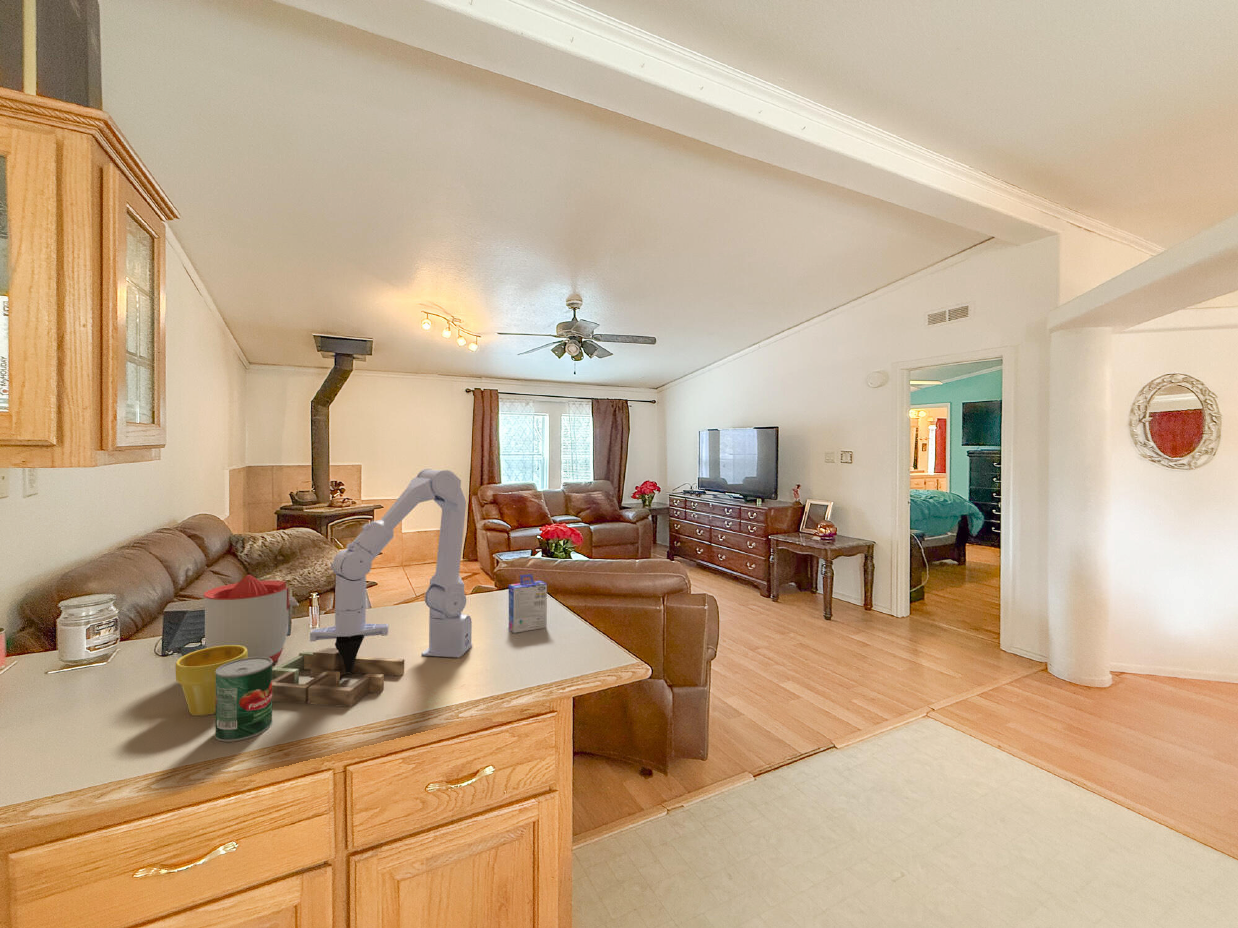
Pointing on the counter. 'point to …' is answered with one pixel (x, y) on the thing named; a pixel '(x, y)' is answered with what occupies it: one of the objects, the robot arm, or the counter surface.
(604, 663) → the counter surface
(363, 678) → the trap lane
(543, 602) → the ink cartridge box
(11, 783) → the counter surface
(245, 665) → the canned tomato
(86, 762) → the counter surface
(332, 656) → the walnut block
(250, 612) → the citrus juicer
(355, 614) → the robot arm
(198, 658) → the plant pot
